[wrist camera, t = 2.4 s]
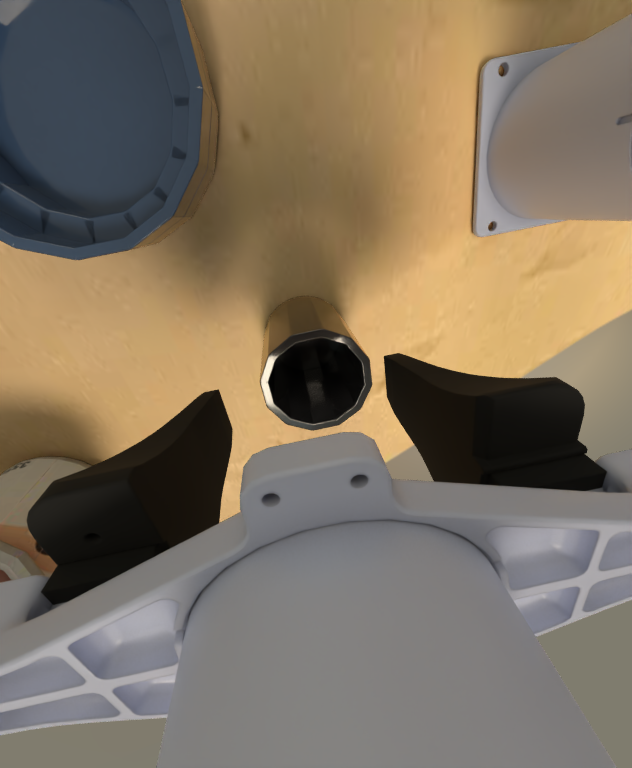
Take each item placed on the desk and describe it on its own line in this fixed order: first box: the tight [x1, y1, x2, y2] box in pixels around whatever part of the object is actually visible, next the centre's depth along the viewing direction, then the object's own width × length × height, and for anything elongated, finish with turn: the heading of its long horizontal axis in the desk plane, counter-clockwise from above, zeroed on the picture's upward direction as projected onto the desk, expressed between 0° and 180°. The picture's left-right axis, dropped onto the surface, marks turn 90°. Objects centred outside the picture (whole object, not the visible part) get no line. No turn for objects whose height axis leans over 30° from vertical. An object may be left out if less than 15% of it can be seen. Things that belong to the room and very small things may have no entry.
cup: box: [260, 296, 372, 430], centre depth 19 cm, size 5×5×7 cm
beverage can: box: [0, 457, 91, 583], centre depth 20 cm, size 9×8×12 cm
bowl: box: [0, 0, 219, 260], centre depth 14 cm, size 12×12×4 cm
